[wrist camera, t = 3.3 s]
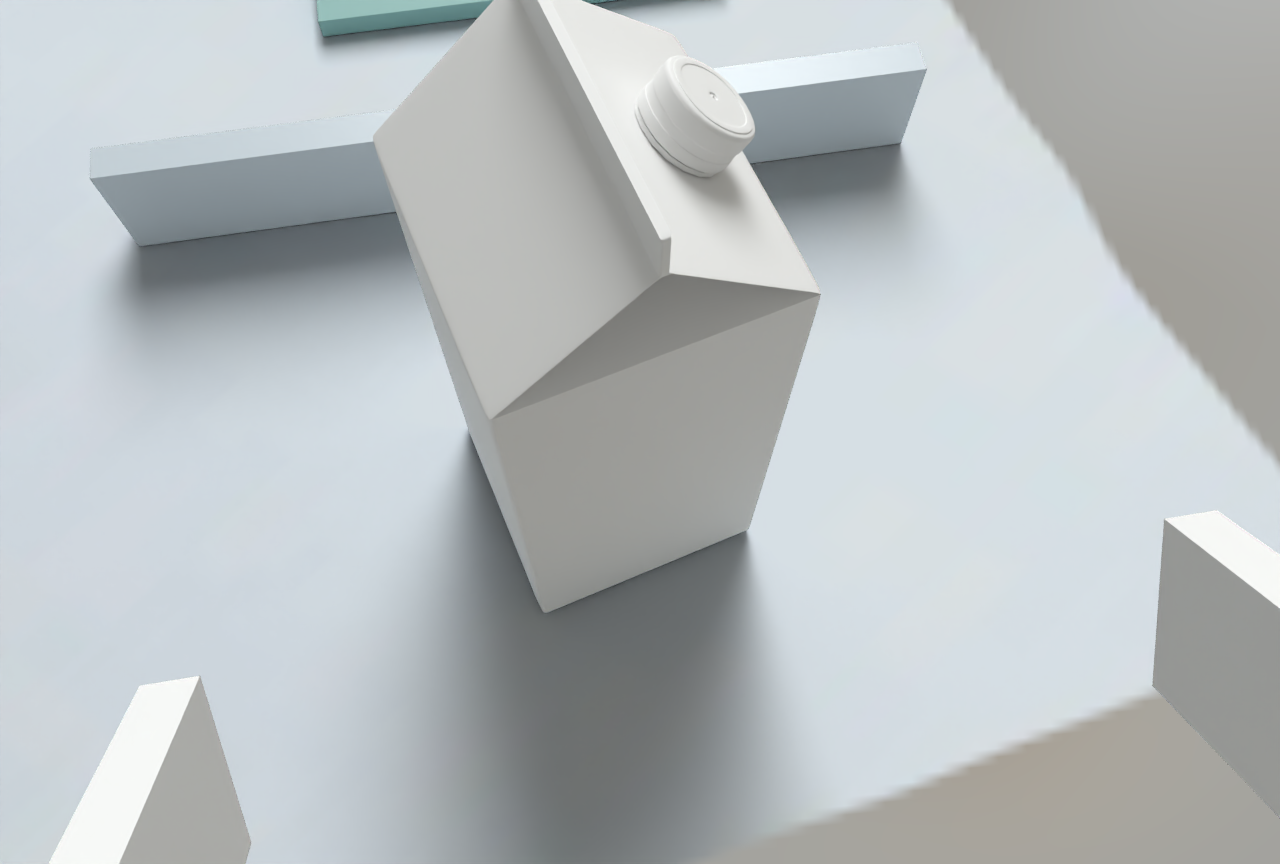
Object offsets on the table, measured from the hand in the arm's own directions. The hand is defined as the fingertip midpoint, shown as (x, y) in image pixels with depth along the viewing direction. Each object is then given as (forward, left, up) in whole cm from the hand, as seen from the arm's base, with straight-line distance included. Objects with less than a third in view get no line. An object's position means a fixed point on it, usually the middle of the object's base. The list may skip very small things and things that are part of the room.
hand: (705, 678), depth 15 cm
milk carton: (0, +10, -19) cm, 22 cm away
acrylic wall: (-1, +22, -19) cm, 29 cm away
